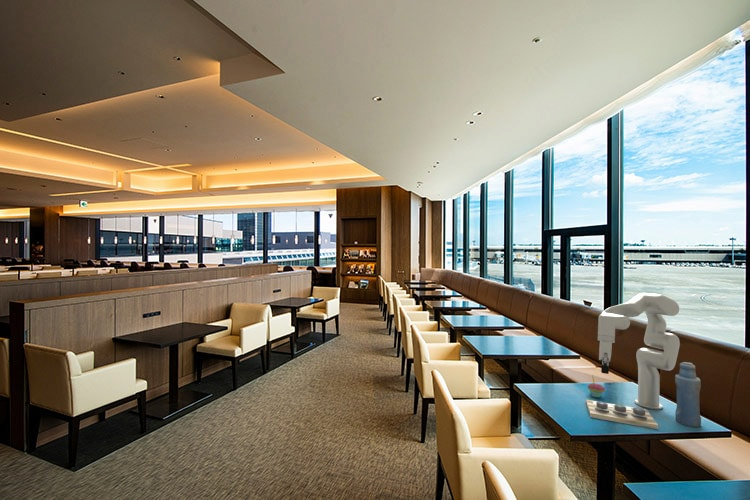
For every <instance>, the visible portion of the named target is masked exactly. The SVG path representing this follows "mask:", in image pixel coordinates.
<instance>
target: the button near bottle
mask: <svg viewBox="0 0 750 500" xmlns="http://www.w3.org/2000/svg"><path fill="white" fill-rule="evenodd" d="M644 409H645V408H641V407H634V408H633V413H634V414H637V415H640V416H645V410H644Z"/></svg>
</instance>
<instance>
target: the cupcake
mask: <svg viewBox="0 0 750 500" xmlns="http://www.w3.org/2000/svg"><path fill="white" fill-rule="evenodd" d="M594 378H595V377H594V375H593V374H592V383H588V385H587V388H588V390H589V391H590V395H591V397H595V398H601V396H602V395H603V393H605V391H606V389H605V387H604V386H603V385H601V384H599V383H596V382H595V379H594Z"/></svg>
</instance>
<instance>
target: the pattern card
mask: <svg viewBox="0 0 750 500" xmlns="http://www.w3.org/2000/svg"><path fill="white" fill-rule="evenodd" d="M596 401H597V400H592V402H593V404H594V405H596ZM606 403H607V404H608V403H609V402H606ZM614 404H615V403H610V404H608V407H610V408H614ZM624 406H625V407H626V406H627V405H624ZM632 407H633V406H628V407H626V410H628V411H633V408H632Z"/></svg>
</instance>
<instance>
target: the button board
mask: <svg viewBox="0 0 750 500" xmlns="http://www.w3.org/2000/svg"><path fill="white" fill-rule="evenodd" d="M592 401H593V400H591V399H585V404H586V409H587V410H588V414H589V416H590V418H592V419H593V418H594V419H599V420H606V421H611V422H616V423H622V424H627V425H632V426H637V427H643V428H648V429H653V430H659V424H658V423H657V422H656V421H655V419H654V418H653V416H652V415H651V414H650V412H649V411H648V409H647V408H643V409H644V410H645V416H640V415H637V414H634V413H633V411H628V410H626V412H618V411H616V410H615V409H614V408H610V407H608V409H600V408H598V407H597V406H596V405H594V404H593V402H592ZM595 401H596V402H599V401H597V400H595ZM607 403H608V404H611V403H609V402H607ZM613 404H614V405H616V404H615V403H613ZM625 406H626V407H629V406H628V405H625ZM631 407H632V408H635V407H633V406H631Z"/></svg>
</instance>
